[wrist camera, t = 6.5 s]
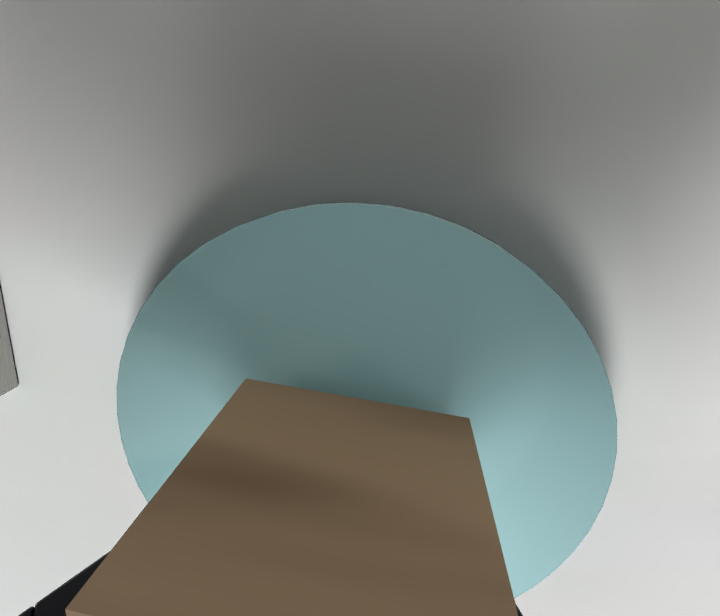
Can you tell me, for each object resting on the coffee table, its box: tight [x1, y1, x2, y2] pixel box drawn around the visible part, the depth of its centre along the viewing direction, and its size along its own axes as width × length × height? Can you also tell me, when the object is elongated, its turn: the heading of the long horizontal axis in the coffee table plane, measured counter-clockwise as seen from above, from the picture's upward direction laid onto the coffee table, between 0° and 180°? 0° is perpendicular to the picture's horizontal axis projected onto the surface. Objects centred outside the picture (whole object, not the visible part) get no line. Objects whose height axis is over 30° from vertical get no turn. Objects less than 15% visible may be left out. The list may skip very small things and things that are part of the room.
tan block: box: [65, 378, 518, 616], centre depth 7 cm, size 5×5×5 cm
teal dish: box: [117, 202, 617, 598], centre depth 11 cm, size 13×13×1 cm
